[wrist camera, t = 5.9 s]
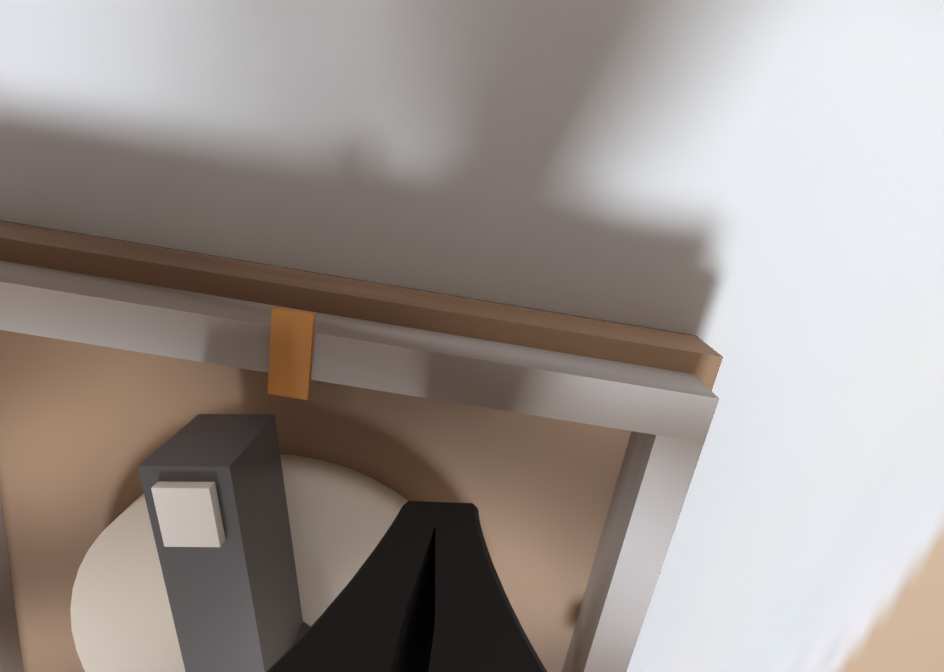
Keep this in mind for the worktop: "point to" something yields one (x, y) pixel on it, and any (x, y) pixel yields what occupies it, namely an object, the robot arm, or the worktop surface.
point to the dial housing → (342, 422)
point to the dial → (224, 552)
